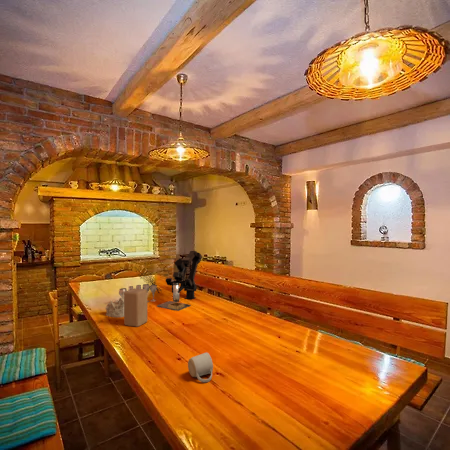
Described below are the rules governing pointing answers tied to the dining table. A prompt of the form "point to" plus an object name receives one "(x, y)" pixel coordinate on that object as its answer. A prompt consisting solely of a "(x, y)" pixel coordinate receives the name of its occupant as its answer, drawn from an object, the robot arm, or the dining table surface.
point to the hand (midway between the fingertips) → (175, 292)
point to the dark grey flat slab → (173, 305)
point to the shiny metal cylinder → (175, 292)
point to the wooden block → (135, 307)
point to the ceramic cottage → (116, 308)
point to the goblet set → (145, 286)
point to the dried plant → (149, 279)
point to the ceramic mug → (200, 366)
